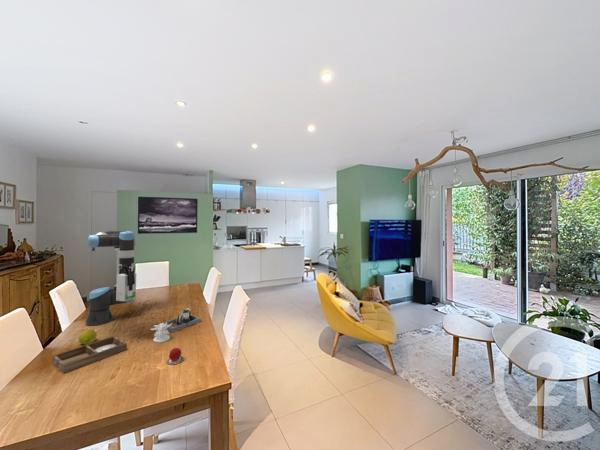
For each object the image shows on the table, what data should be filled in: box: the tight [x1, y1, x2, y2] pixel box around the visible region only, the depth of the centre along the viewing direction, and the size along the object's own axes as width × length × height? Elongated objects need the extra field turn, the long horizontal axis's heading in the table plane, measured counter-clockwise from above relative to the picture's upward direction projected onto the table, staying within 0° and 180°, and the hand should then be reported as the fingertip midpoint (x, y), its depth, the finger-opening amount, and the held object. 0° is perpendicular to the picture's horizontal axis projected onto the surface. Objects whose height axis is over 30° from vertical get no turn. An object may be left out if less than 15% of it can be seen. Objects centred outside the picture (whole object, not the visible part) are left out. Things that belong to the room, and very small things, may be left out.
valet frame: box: [163, 314, 202, 333], centre depth 173 cm, size 14×21×2 cm, turn 148°
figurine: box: [150, 322, 173, 344], centre depth 150 cm, size 12×9×10 cm
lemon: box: [78, 328, 97, 346], centre depth 144 cm, size 11×8×8 cm
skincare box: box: [116, 272, 137, 301], centre depth 150 cm, size 8×7×16 cm
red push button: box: [165, 347, 185, 365], centre depth 128 cm, size 8×8×6 cm
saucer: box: [96, 344, 116, 352], centre depth 135 cm, size 10×10×2 cm
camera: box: [176, 307, 192, 327], centre depth 176 cm, size 16×9×10 cm, turn 19°
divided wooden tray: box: [51, 335, 128, 374], centre depth 129 cm, size 16×26×4 cm, turn 148°
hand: (126, 294), depth 150 cm, fingers closed on skincare box, 8 cm apart
